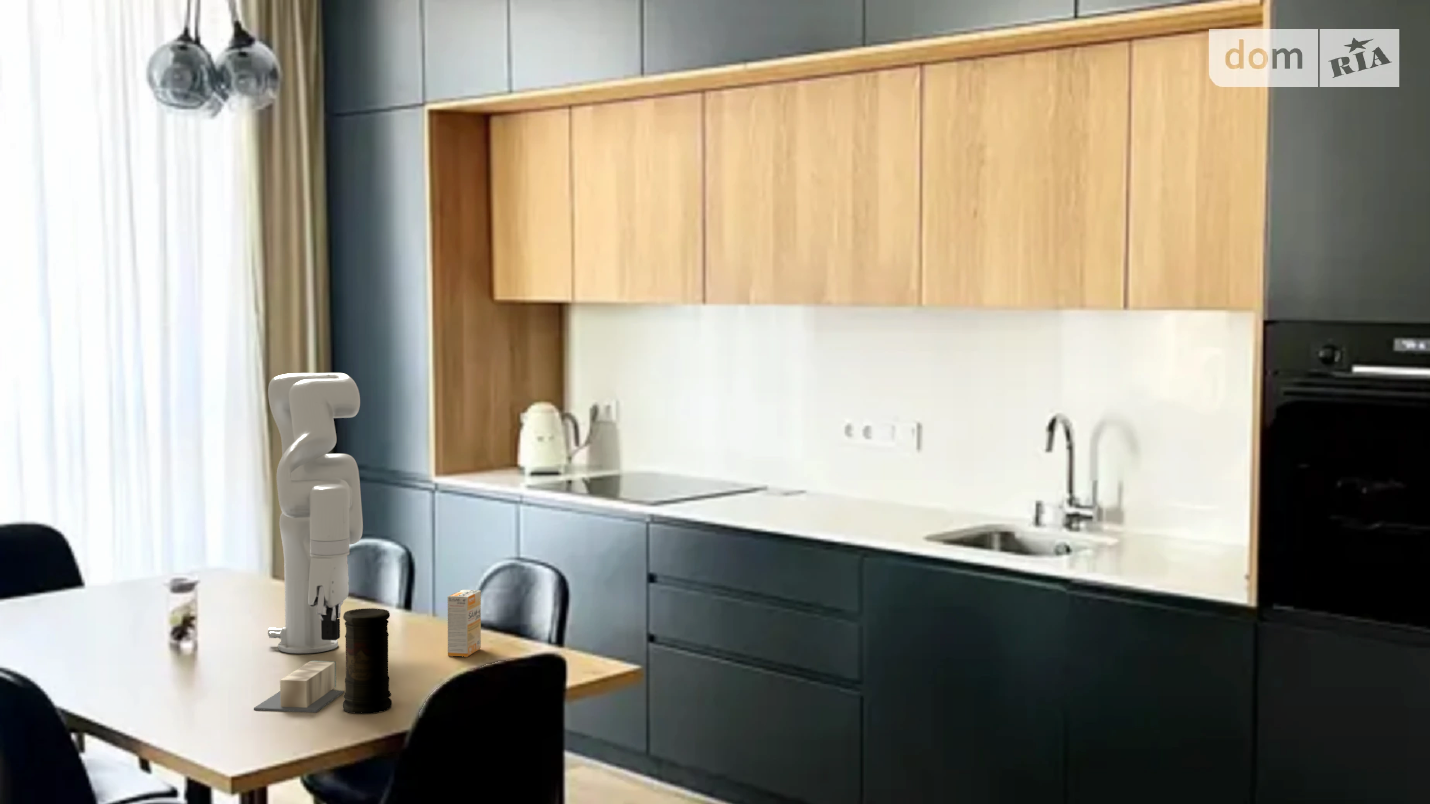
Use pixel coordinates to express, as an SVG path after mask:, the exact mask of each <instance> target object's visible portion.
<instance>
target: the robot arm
mask: <svg viewBox="0 0 1430 804" xmlns="http://www.w3.org/2000/svg"><path fill="white" fill-rule="evenodd" d="M267 396H268V403H269V407H270V411H271V415H272V417H273V420H274V422H275V424H276V427H277V429H278V432H279V435H280V440H281V441H280V442H281V452H282V453H281V454H282V455H281V458H280V460H279V462H278V464H277V470H276V487H277V498H278V503H279V508H280V510H281V513H280V515H279V520H278V521H279V531H280V536H281V537H280V538H281V543H282V544H281V545H282V551H283V565H284V568H283V569H284V571H283V572H284V574H283V575H284V626H283V627H282V628H279V627H269V628H268V630H267V636H268V637H269V639H279V640H280V641H279V642H278V645H277V647H278V651H280V652H283V653H288V654H317V653H324V652H328V651H332V650H335V649H336V648H337V647H338V646H339V641H338V640H339V639H340V637H341V619H340V618H341V610H342V609H341V608H342V607H341V606H342V605H343V604H344V601H345V600H346V599H348V597H349V592H350V591H349V588H350V587H349V585H350V584H349V583H350V579H349V578H350V577H349V564H348V556H349V555H350V554H351V553H350V546H351V545H355V544H356V543H359V541H360V540H361V539H362V536H363V530H364V525H363V524H364V523H363V521H364V519H363V507H362V495H361V494H362V493H361V482H360V480H361V479H360V472H359V467H358V464H357V462H356V460H355V458H354V457H353V455H350V454H348V453H329V452H331V451H332V450H333V449H334V448H335V446H336V444H337V433H336V425H335V421H334V419H342V418H344V419H347V418H348V419H349V418H354V417H356V415H357V414H358V413H359V410H360V406H361V397H360V396H361V395H360V391H359V387H358V386H357V383H356V382H355V380H354V379H353V378H352V377H351V376H350V375H348V374H346V373H343V372H293V373H285V374H280V375H277V376H274V377H272V378H271V380H270V381H269V383H268V390H267Z"/></svg>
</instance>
